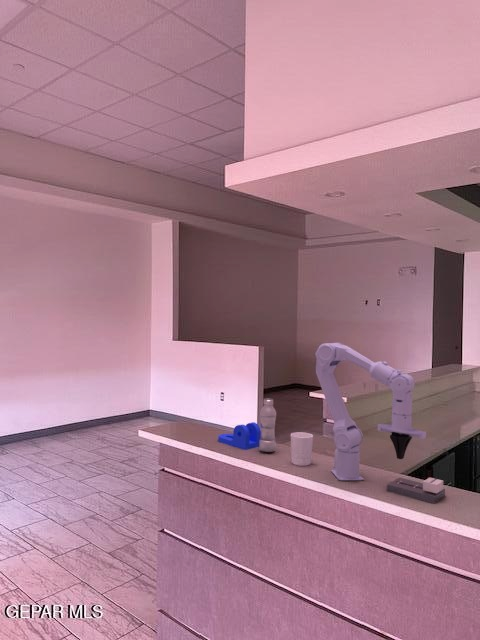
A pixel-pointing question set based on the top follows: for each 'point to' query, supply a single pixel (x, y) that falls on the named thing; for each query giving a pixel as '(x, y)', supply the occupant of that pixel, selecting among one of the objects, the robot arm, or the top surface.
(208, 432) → the top surface
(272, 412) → the plastic bottle
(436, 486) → the fader knob
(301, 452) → the white cup
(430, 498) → the strip
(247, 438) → the bracket
